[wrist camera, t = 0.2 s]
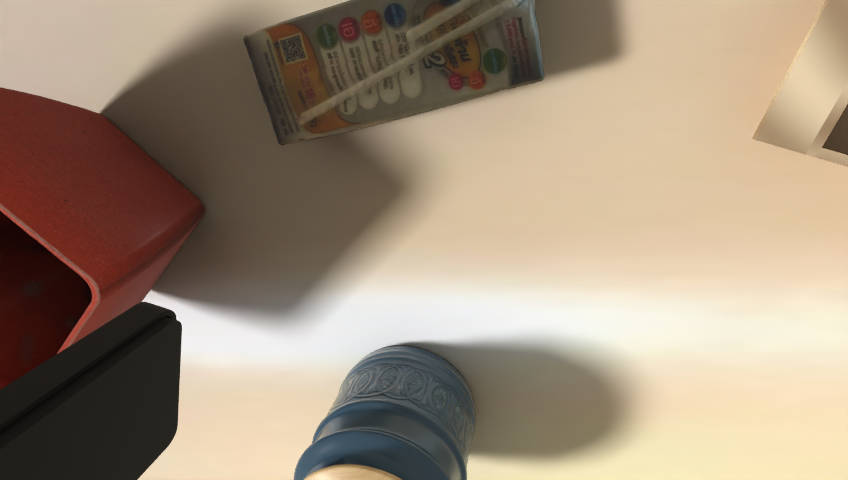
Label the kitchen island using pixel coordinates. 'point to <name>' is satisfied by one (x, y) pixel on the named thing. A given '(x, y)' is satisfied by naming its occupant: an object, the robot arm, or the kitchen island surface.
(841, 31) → the wooden tray
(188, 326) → the kitchen island surface
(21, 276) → the plant pot
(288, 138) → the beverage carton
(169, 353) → the robot arm
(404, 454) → the canister
